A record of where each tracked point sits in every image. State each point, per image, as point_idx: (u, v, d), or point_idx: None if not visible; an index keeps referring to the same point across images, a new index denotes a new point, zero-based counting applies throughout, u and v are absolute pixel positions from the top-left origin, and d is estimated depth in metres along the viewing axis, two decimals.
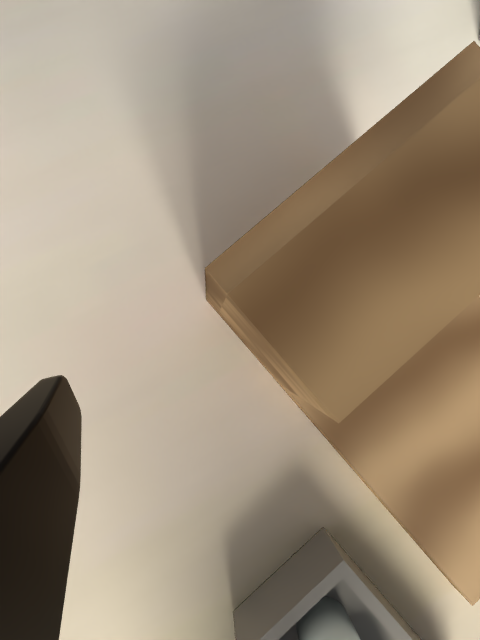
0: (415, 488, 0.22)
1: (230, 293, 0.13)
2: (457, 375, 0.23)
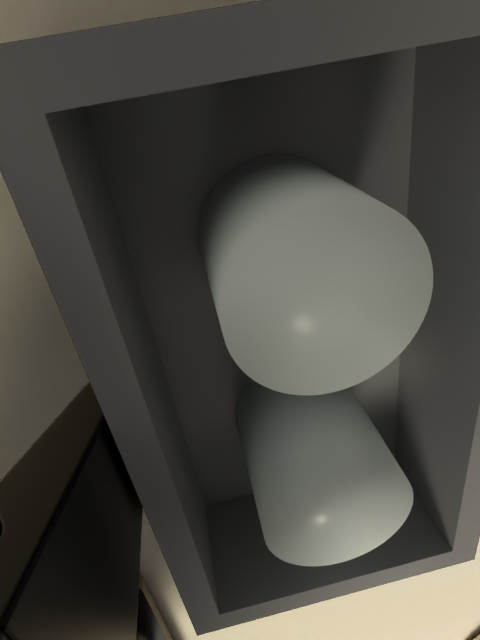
0: None
1: None
2: None
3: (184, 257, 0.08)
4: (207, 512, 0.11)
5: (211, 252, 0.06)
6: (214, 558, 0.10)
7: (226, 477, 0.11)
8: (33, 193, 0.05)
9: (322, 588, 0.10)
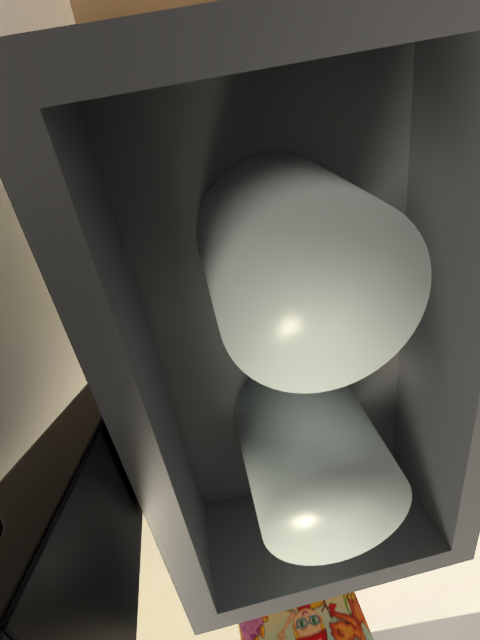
0: None
1: None
2: None
3: (182, 255, 0.08)
4: (205, 511, 0.11)
5: (208, 249, 0.06)
6: (212, 557, 0.10)
7: (224, 476, 0.11)
8: (28, 189, 0.04)
9: (320, 588, 0.10)
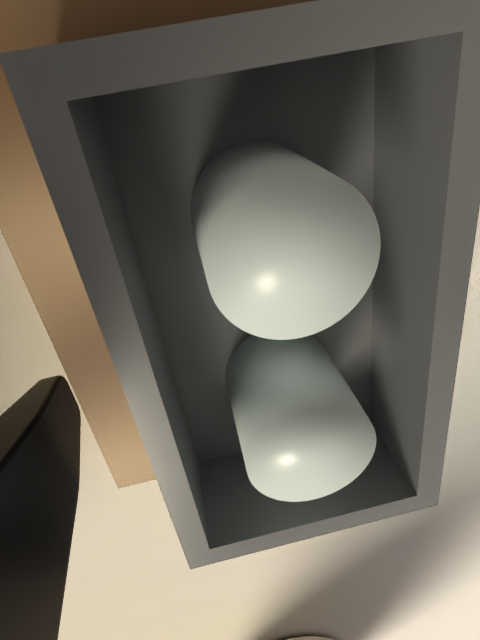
0: None
1: None
2: None
3: (178, 230, 0.09)
4: (200, 468, 0.13)
5: (199, 220, 0.07)
6: (206, 505, 0.12)
7: (217, 435, 0.12)
8: (56, 164, 0.06)
9: (301, 527, 0.11)
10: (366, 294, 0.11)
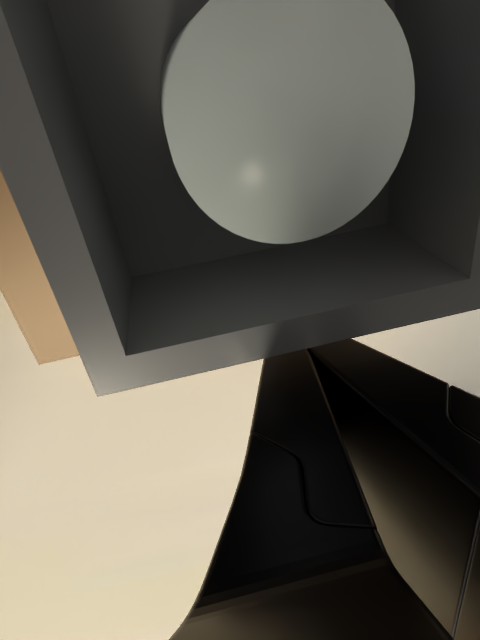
0: None
1: None
2: None
3: None
4: (133, 281, 0.08)
5: None
6: (132, 313, 0.07)
7: (156, 227, 0.08)
8: None
9: (280, 328, 0.07)
10: None
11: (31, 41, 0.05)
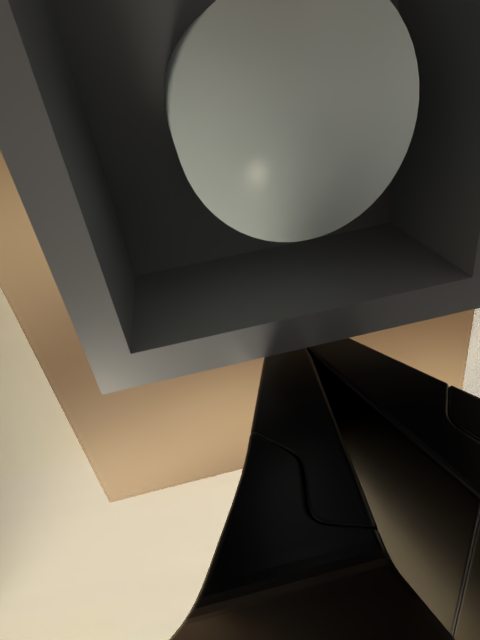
0: None
1: None
2: None
3: None
4: (136, 280, 0.08)
5: None
6: (135, 311, 0.07)
7: (160, 225, 0.08)
8: None
9: (284, 326, 0.07)
10: None
11: (38, 40, 0.05)
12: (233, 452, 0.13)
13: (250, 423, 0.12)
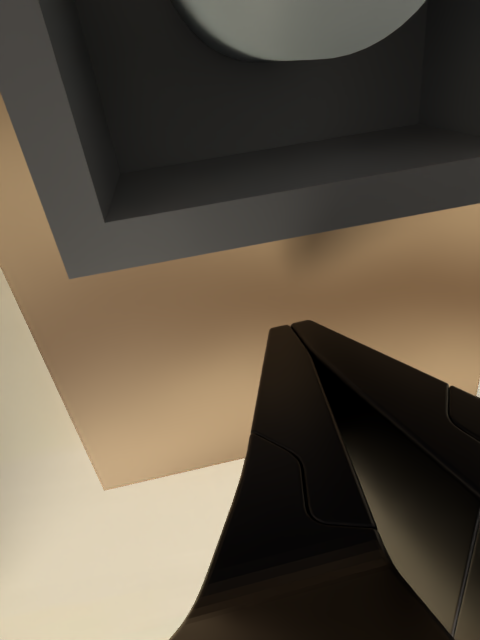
0: None
1: None
2: None
3: None
4: (120, 175, 0.07)
5: None
6: (116, 194, 0.06)
7: (150, 108, 0.07)
8: None
9: (297, 200, 0.05)
10: None
11: None
12: (236, 439, 0.12)
13: None
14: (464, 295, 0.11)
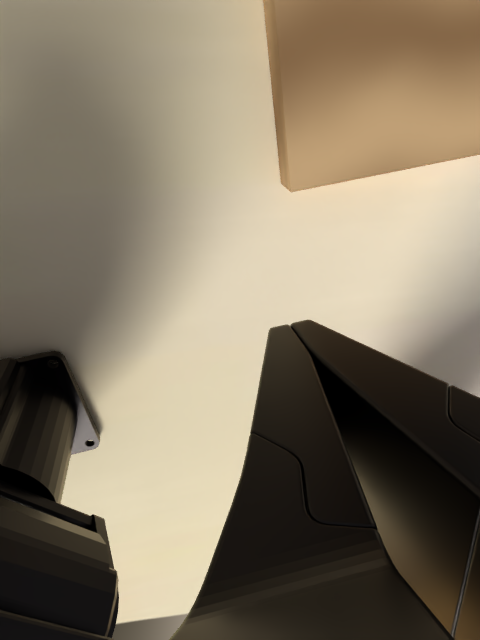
0: None
1: None
2: None
3: None
4: None
5: None
6: None
7: None
8: None
9: None
10: None
11: None
12: (380, 155, 0.18)
13: (396, 126, 0.17)
14: None
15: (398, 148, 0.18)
